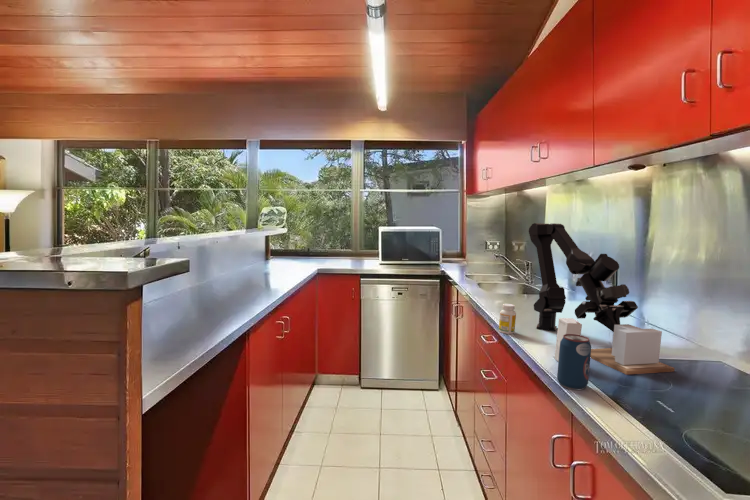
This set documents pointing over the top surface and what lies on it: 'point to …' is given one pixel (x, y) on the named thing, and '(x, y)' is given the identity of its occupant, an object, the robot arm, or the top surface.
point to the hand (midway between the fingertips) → (619, 334)
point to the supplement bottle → (507, 319)
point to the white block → (636, 345)
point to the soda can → (574, 361)
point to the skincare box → (566, 331)
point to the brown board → (609, 360)
